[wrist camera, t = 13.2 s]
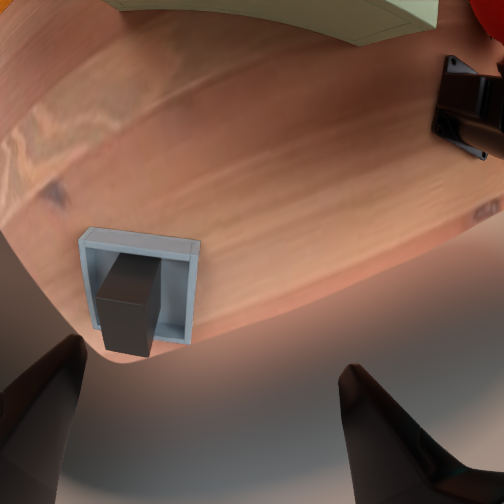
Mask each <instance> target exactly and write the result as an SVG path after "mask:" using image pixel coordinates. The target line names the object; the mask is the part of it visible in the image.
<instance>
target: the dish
mask: <svg viewBox="0 0 504 504" xmlns="http://www.w3.org/2000/svg"><path fill="white" fill-rule="evenodd" d="M78 244H79V252H80V260H81V267H82V273H83V280H84V286H85V291H86V297H87V302H88V307H89V312H90V316H91V321H92V325H93V329H96V330H101V327H100V322H99V317H98V312H97V307H96V301H95V296H96V294H97V292H98V290H99V289H100V287H101V285H102V283H103V281H104V280H105V278H106V276H107V274H108V272H109V271H110V269H111V267H112V265H113V264H114V262H115V260H116V259H117V257H118V255H119V254H120V252H123V253H130V254H137V255H144V256H152V257H159V258H161V310H160V313H159V317H158V321H157V325H156V329H155V333H154V338H153V340H158V341H165V342H172V343H179V344H187V345H190V344H191V336H192V327H193V314H194V303H195V292H196V281H197V271H198V262H199V253H200V244H201V241H200V240H192V239H184V238H176V237H168V236H161V235H153V234H145V233H137V232H129V231H121V230H113V229H105V228H97V227H89V228H88V229H87V230H86V231H85V232H84V234H83V235H82V236H81V237H80V238H79V239H78Z"/></svg>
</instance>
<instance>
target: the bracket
mask: <svg viewBox="0 0 504 504" xmlns="http://www.w3.org/2000/svg"><path fill="white" fill-rule="evenodd" d="M12 1H13V0H0V14H1V13H2V12H3V11H4V10H5V8H6V7H7V6H8V5H9V4H10V3H11V2H12Z"/></svg>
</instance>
